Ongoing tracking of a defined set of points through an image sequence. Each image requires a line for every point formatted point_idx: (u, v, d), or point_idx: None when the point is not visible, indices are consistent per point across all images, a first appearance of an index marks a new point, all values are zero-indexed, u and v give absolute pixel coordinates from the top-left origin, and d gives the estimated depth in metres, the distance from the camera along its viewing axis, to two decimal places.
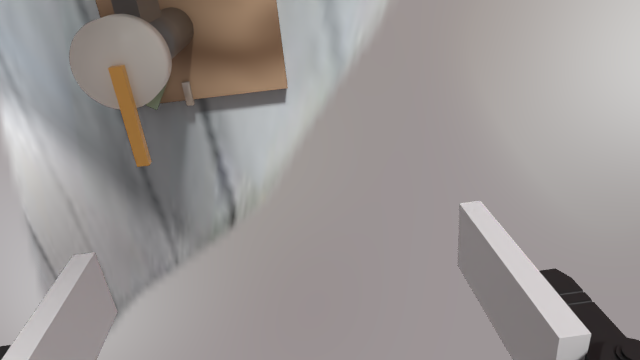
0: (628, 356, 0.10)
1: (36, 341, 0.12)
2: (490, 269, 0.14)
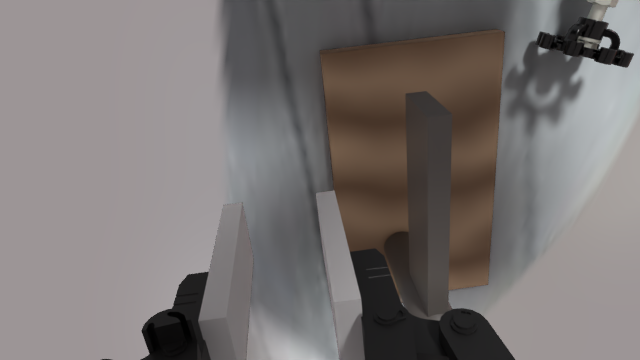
0: (382, 318, 0.12)
1: (230, 265, 0.15)
2: None
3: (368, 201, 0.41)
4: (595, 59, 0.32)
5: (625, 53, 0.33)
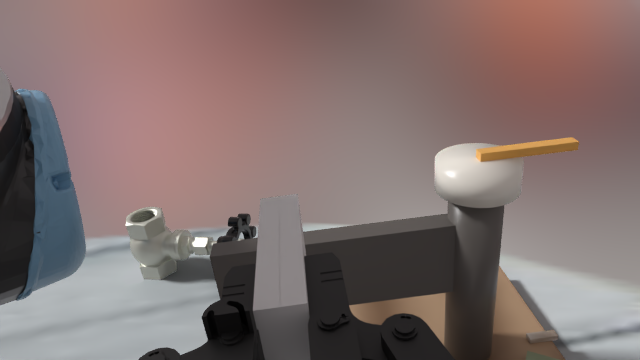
0: (326, 323, 0.12)
1: (277, 257, 0.15)
2: None
3: None
4: (237, 227, 0.43)
5: (238, 216, 0.45)
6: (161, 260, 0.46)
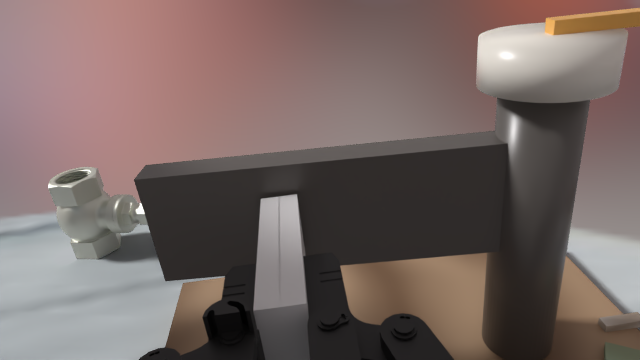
0: (326, 323, 0.12)
1: (277, 257, 0.15)
2: None
3: None
4: None
5: None
6: (97, 233, 0.36)
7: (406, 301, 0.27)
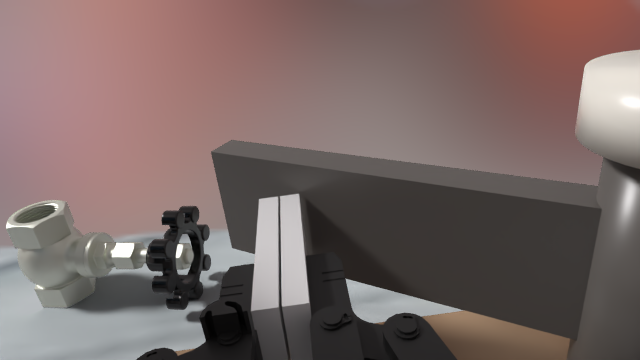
0: (328, 323, 0.12)
1: (275, 257, 0.15)
2: None
3: None
4: (175, 225, 0.28)
5: (179, 210, 0.30)
6: (66, 279, 0.31)
7: None
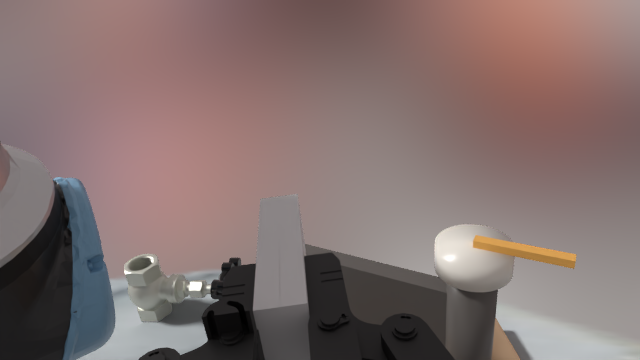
0: (326, 323, 0.12)
1: (276, 257, 0.15)
2: None
3: None
4: None
5: (229, 261, 0.49)
6: (158, 304, 0.49)
7: None
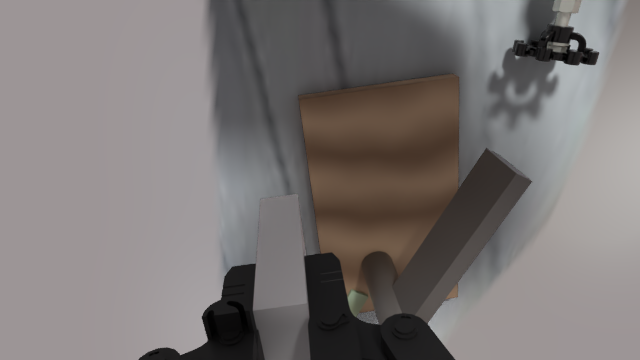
0: (326, 323, 0.12)
1: (277, 257, 0.15)
2: None
3: (345, 225, 0.45)
4: (564, 61, 0.36)
5: (591, 53, 0.37)
6: None
7: (412, 219, 0.46)
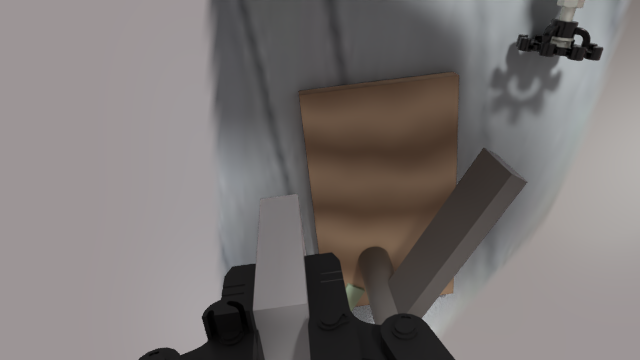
0: (326, 323, 0.12)
1: (276, 257, 0.15)
2: None
3: (343, 220, 0.46)
4: (568, 57, 0.36)
5: (595, 48, 0.36)
6: None
7: (409, 216, 0.46)
